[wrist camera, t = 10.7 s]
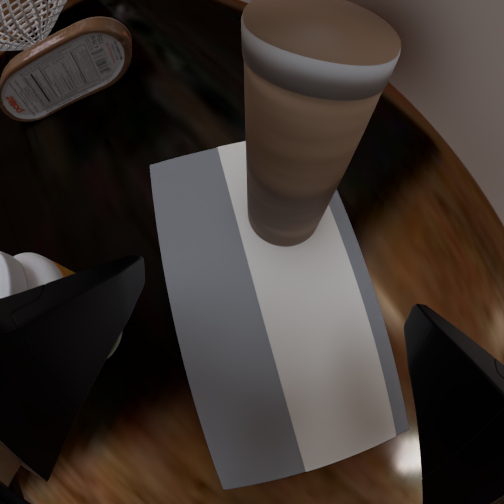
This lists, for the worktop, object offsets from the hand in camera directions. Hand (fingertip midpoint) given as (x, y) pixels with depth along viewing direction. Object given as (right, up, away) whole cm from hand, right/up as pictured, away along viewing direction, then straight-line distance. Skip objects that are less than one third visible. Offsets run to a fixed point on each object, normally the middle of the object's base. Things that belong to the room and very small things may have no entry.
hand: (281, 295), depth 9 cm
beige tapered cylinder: (+1, +4, +9) cm, 10 cm away
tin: (-19, +17, +15) cm, 30 cm away
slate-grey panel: (0, -1, +9) cm, 9 cm away
